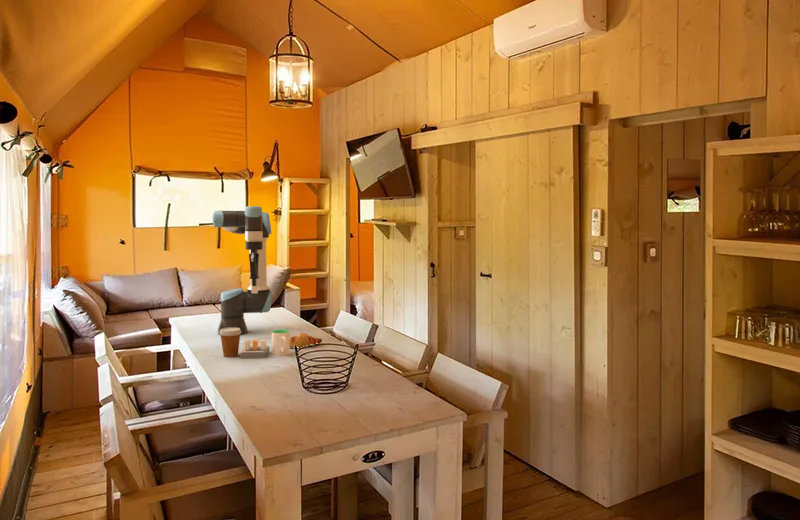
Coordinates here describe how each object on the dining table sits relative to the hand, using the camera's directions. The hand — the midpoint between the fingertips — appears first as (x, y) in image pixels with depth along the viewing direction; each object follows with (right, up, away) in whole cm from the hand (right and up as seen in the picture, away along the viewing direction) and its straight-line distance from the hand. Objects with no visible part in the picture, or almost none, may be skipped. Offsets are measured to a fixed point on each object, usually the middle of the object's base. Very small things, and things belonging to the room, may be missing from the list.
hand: (254, 293), depth 267 cm
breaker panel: (0, -28, +2) cm, 28 cm away
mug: (+12, -29, +4) cm, 31 cm away
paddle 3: (+3, -26, +2) cm, 26 cm away
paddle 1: (-4, -26, +2) cm, 26 cm away
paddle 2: (0, -26, +2) cm, 26 cm away
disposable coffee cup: (-11, -29, +1) cm, 31 cm away
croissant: (+17, -27, +20) cm, 38 cm away
